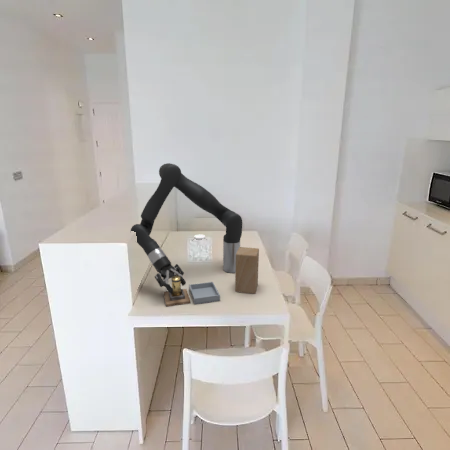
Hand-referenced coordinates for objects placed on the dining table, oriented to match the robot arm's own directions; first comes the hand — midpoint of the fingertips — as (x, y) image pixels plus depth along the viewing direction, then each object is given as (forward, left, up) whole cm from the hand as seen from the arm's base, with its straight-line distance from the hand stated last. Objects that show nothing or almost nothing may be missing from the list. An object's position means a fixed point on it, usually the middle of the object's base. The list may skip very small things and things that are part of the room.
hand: (178, 288), depth 155 cm
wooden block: (-34, -2, -6) cm, 35 cm away
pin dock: (+1, -1, -6) cm, 6 cm away
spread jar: (-21, -55, -6) cm, 59 cm away
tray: (-12, 0, -6) cm, 13 cm away
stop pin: (+1, -1, -5) cm, 5 cm away
